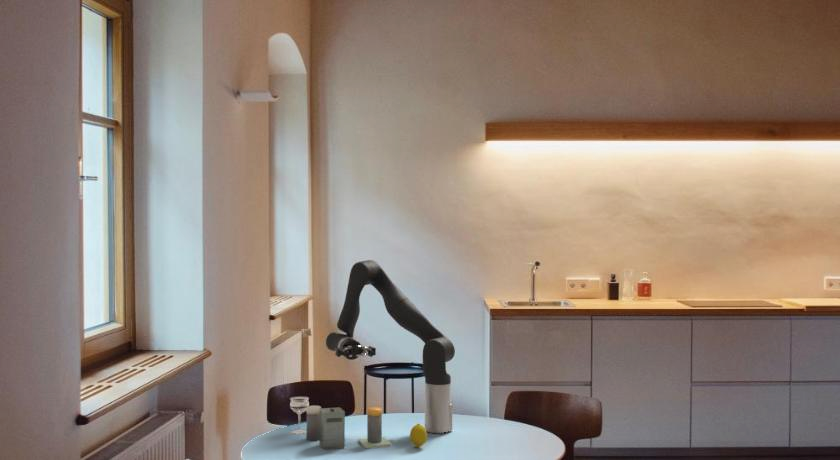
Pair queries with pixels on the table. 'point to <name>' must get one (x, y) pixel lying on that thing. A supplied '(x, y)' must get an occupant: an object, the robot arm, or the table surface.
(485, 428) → the table surface
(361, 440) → the pad
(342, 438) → the unit
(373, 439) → the cylinder
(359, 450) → the table surface
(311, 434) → the cylinder
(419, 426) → the lemon
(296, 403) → the wineglass
